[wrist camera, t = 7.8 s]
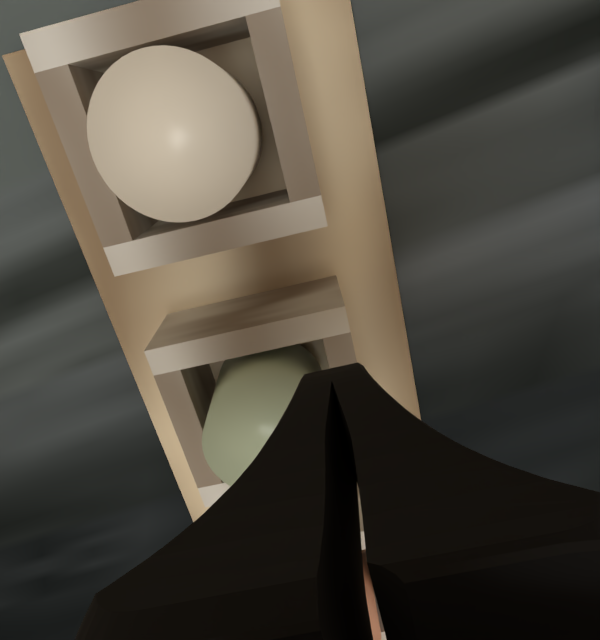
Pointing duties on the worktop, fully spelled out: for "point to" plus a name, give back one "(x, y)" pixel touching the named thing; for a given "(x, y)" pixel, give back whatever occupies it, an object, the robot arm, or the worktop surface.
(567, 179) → the worktop surface
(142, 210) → the ivory key
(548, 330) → the worktop surface
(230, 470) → the sage key
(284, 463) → the robot arm
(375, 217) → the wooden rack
